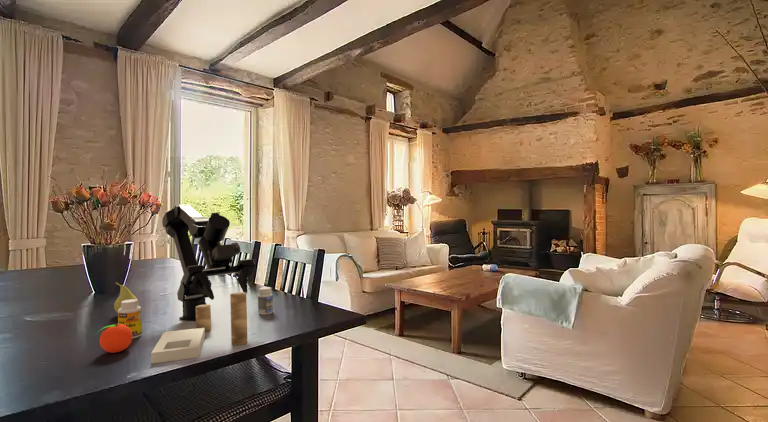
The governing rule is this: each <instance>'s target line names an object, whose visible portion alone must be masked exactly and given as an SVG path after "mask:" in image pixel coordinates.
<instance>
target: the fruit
mask: <svg viewBox="0 0 768 422" xmlns="http://www.w3.org/2000/svg"><path fill="white" fill-rule="evenodd" d="M115 285H118V286H119V288H120V290H119V291H120V292H119V295H118V297H117V298H116V299H115V302H114V304H113V308H114V309H113V310H114V311H115V312H116V314H118V310H119V309H120V308H122V307H121V302H122V301H124V300H130V299H137V300H138V305H139V298H137V297H136V296H135V295H134V294H133V293H132V292H131V290H129V288H128V287H127V286H125V285H123V284H120V283H118V282H117V281H116V282H115Z"/></svg>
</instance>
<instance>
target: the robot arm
mask: <svg viewBox="0 0 768 422" xmlns="http://www.w3.org/2000/svg"><path fill="white" fill-rule="evenodd" d="M161 221H162V226H163V228H164V230H165V232H166V234H167V235H168V236H169V237H171V238H172V239H173V241H174V244H175V247H176V248H175V249H176V252H177V254H178V258H179V262H180V265H181V268H182V273H183V275H182V278H181V280H180V283H179V288H178V290H177V293H176V295H177V300H178V301H180V302H182V316H180V317H178V318H179V320H186V321H196V306H199V305H207V302H206V298H209V299H210V300H211V301H213V300H215V295H214V291H213V289H212V281H211V279H210V278H209V277H211V276H224V275H231V274H235V276H236V277H237V279H236V281H237V282H238V284H239V286H240V288H241V290H242V292H245V293H246V294H247V293H248V278H249V277H251V276H252V273H253V271H254V269H255V267H256V262H255V260H254V259H252V258H246V259H239V260H238V262H237V265H230V264H232V263H233V259H232V258H233V257H235V256H237V255H240V253H241V247H240V244H239V243H238V242H232V243H230V244H228V243H227V244H222V243H221V242H222V241H224V239H225V237H226V234H227V232H228V230H229V227H230V220H229V219H228V218H227V217H225V216H224V215H220V213H219V212H211V214H210V217H208V216H203V215H202V214H200V213H199V212H198V211H197V210H196V209H195V208H194V207H193V205H191V204H176V205H174V207H173V208H172V209H170V210H168V211H166V212H165V213H164V216H163V217H162V220H161ZM190 236H191V237H192V239H194V240H196V239H199V240H198V252H201V254H202V257H203V259H204V260H203V264H198V260H197V258H196V254H195V251H194V248H193V245H192V241H191V238H190ZM204 266H206V267H207V268H205V267H204Z"/></svg>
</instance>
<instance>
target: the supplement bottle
mask: <svg viewBox="0 0 768 422" xmlns="http://www.w3.org/2000/svg"><path fill="white" fill-rule="evenodd" d="M137 299H138V298H137ZM137 299H130V300H124V301H122V302H121V307H122V308H120V309H119V310H118V313H117V322H118V323H117V324H123V325H126V326H128V327H129V328H130V329H131V331H132V335H133V336H132V340H133V339H134V340H135V339H136V338H139V337H141V336H142V334H143V320H142V319H143V318H142V317H143V316H142V315H143V314H142V306H140V305H139V304H138V302H139V299H138V300H137Z"/></svg>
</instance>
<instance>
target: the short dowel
mask: <svg viewBox="0 0 768 422" xmlns="http://www.w3.org/2000/svg"><path fill="white" fill-rule="evenodd" d="M211 308H212V307H211V304H206V305H199V306H196V320H195V329H196V328H205V333H206V332H209V331H211V330H212V312H211V311H212V309H211Z"/></svg>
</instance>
